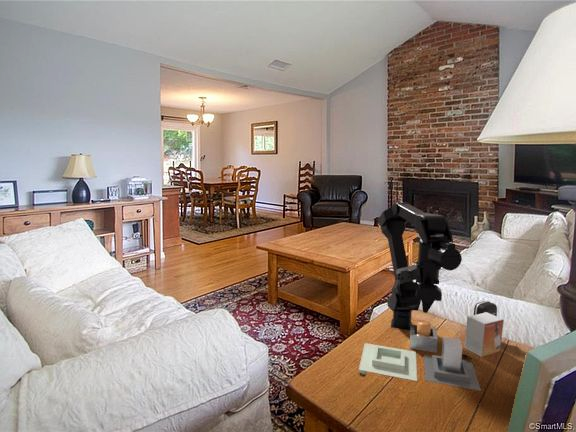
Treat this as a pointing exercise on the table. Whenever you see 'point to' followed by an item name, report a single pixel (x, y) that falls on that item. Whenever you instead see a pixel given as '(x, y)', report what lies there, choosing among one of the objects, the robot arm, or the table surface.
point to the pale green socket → (388, 361)
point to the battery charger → (485, 308)
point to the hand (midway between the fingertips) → (424, 312)
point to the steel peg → (451, 355)
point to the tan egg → (423, 328)
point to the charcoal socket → (450, 373)
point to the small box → (483, 334)
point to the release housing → (423, 340)
